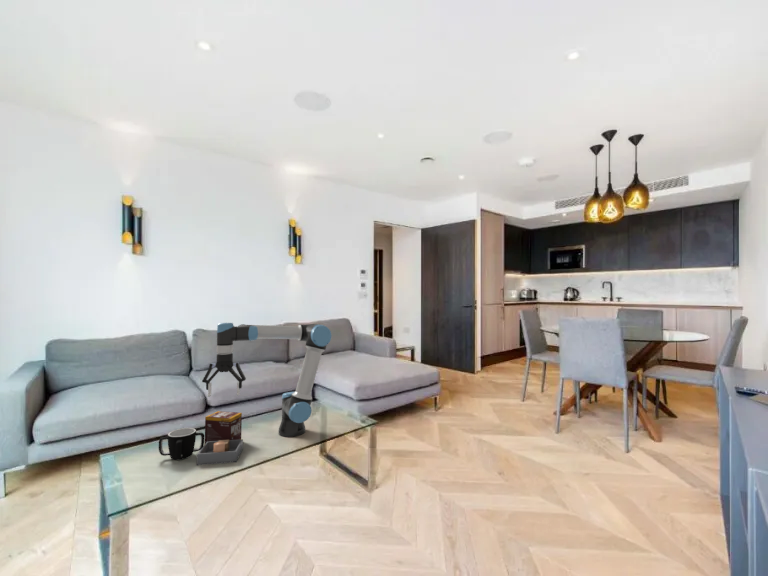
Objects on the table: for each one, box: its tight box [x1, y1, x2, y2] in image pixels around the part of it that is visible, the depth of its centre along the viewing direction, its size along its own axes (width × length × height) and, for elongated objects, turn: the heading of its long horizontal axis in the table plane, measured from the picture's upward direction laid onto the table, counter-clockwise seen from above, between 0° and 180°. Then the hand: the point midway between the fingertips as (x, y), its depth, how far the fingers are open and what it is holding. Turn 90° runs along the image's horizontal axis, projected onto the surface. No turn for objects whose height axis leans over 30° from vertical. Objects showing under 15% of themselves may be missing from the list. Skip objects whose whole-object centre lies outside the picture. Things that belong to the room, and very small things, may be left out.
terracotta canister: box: [213, 441, 225, 453], centre depth 174 cm, size 5×5×7 cm
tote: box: [196, 438, 244, 466], centre depth 177 cm, size 17×15×5 cm
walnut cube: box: [218, 440, 230, 452], centre depth 181 cm, size 5×5×5 cm
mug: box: [158, 427, 205, 461], centre depth 177 cm, size 16×16×12 cm
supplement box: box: [203, 410, 243, 446], centre depth 194 cm, size 10×15×16 cm
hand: (224, 395), depth 182 cm, fingers open, 13 cm apart
